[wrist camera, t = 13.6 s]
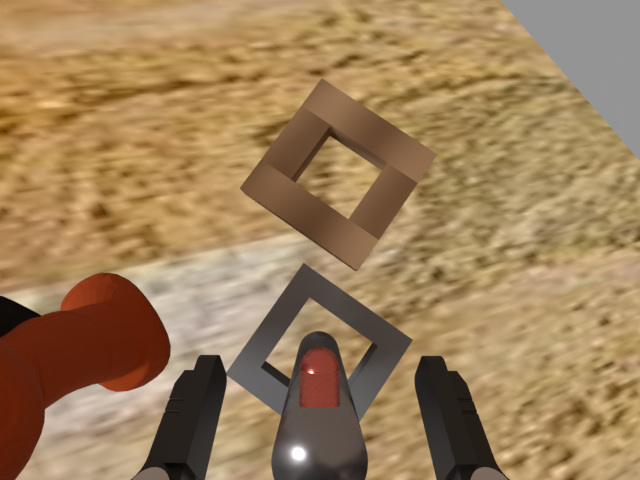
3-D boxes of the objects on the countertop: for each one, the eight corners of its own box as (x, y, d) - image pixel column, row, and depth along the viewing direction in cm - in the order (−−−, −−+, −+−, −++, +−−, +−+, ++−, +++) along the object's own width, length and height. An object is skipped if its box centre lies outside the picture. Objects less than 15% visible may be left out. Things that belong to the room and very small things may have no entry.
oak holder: (245, 194, 22) (239, 188, 20) (321, 92, 22) (321, 78, 21) (355, 271, 21) (357, 270, 19) (429, 163, 22) (437, 154, 20)
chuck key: (338, 387, 20) (369, 550, 8) (298, 387, 20) (269, 551, 8) (338, 307, 21) (366, 354, 9) (298, 307, 21) (273, 353, 9)
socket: (232, 366, 20) (224, 374, 19) (304, 263, 21) (303, 262, 20) (335, 442, 20) (336, 457, 18) (405, 334, 21) (412, 339, 19)
